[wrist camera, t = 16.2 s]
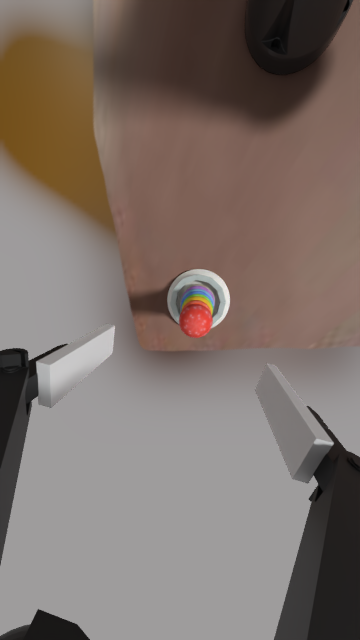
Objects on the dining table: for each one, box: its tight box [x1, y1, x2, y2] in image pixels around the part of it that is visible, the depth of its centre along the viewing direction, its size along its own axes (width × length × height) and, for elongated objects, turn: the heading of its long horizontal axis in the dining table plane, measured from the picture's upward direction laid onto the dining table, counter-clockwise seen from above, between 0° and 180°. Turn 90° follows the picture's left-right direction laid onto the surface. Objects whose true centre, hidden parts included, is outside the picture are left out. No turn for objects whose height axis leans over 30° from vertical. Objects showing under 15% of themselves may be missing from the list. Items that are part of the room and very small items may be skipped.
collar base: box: [167, 269, 230, 328], centre depth 41 cm, size 15×15×3 cm
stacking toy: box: [179, 284, 215, 338], centre depth 32 cm, size 8×8×19 cm
